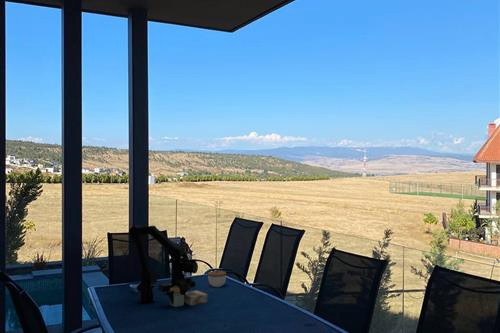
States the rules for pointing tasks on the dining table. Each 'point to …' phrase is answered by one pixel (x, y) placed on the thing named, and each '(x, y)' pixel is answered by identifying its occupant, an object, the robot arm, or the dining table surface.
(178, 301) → the sage cube
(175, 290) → the croissant
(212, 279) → the lidded jar
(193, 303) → the birch plinth
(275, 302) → the dining table surface
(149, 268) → the robot arm
